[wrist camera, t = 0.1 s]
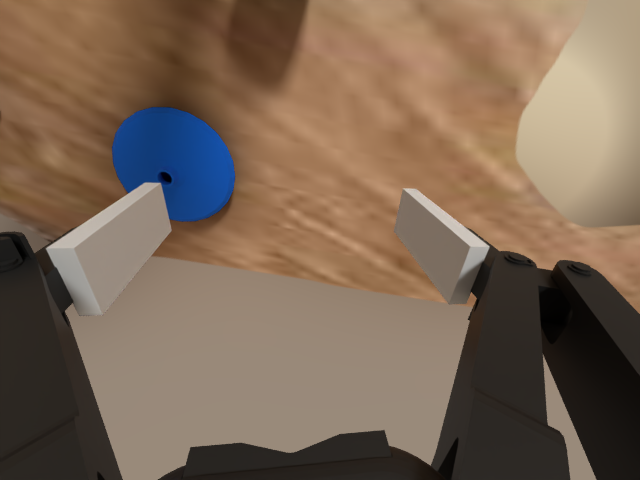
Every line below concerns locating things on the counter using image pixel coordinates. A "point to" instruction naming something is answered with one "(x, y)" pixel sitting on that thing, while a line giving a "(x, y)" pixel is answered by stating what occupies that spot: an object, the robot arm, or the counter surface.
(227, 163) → the blue funnel
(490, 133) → the counter surface
